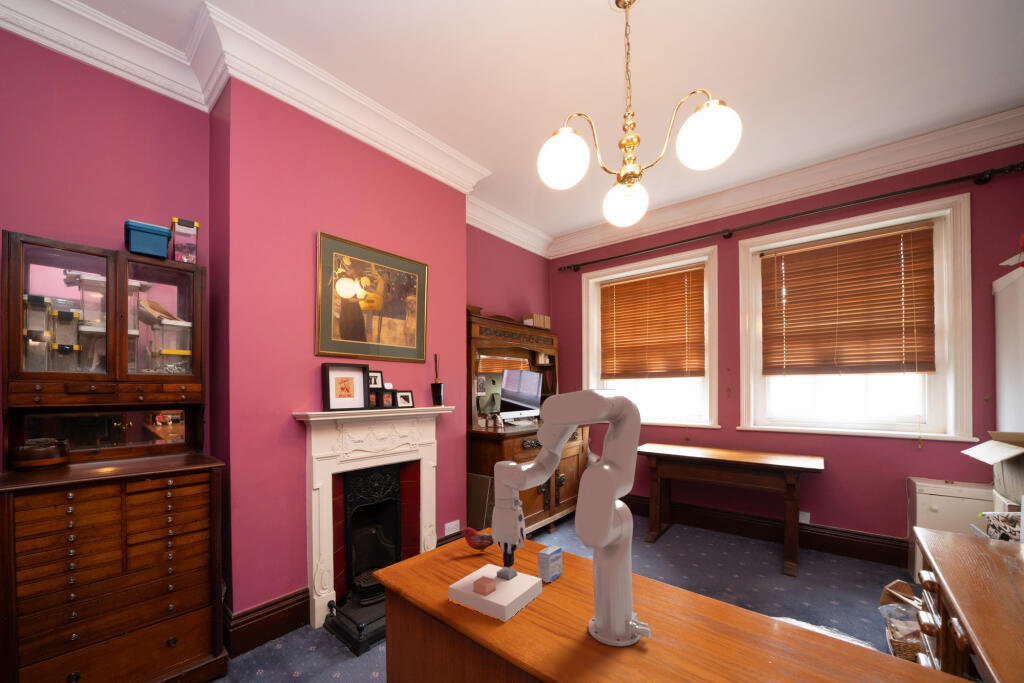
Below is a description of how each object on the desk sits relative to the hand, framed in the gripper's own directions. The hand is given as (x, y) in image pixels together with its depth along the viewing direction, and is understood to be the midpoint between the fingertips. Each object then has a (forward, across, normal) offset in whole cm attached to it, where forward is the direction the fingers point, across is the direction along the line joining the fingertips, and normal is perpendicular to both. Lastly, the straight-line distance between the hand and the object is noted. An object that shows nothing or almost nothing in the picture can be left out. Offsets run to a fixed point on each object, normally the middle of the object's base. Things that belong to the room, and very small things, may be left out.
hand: (508, 565), depth 126 cm
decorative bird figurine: (+6, +24, -19) cm, 31 cm away
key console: (+7, +1, +5) cm, 9 cm away
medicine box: (+8, -6, -15) cm, 17 cm away
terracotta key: (+4, +1, +11) cm, 11 cm away
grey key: (+5, +1, 0) cm, 5 cm away
